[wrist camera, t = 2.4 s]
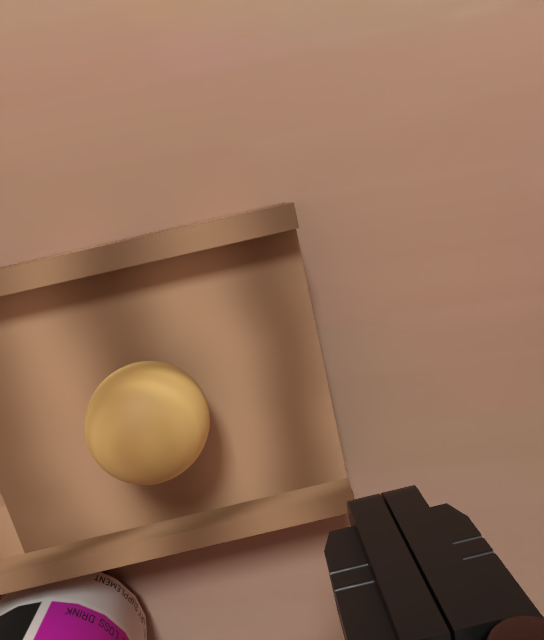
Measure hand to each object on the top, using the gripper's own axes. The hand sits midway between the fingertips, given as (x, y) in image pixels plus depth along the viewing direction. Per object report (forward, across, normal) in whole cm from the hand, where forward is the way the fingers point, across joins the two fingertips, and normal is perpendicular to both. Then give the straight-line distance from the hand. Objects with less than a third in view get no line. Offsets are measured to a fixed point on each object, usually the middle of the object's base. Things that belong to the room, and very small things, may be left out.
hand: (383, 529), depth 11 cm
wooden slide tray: (+15, +12, 0) cm, 19 cm away
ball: (+9, +7, 0) cm, 12 cm away
